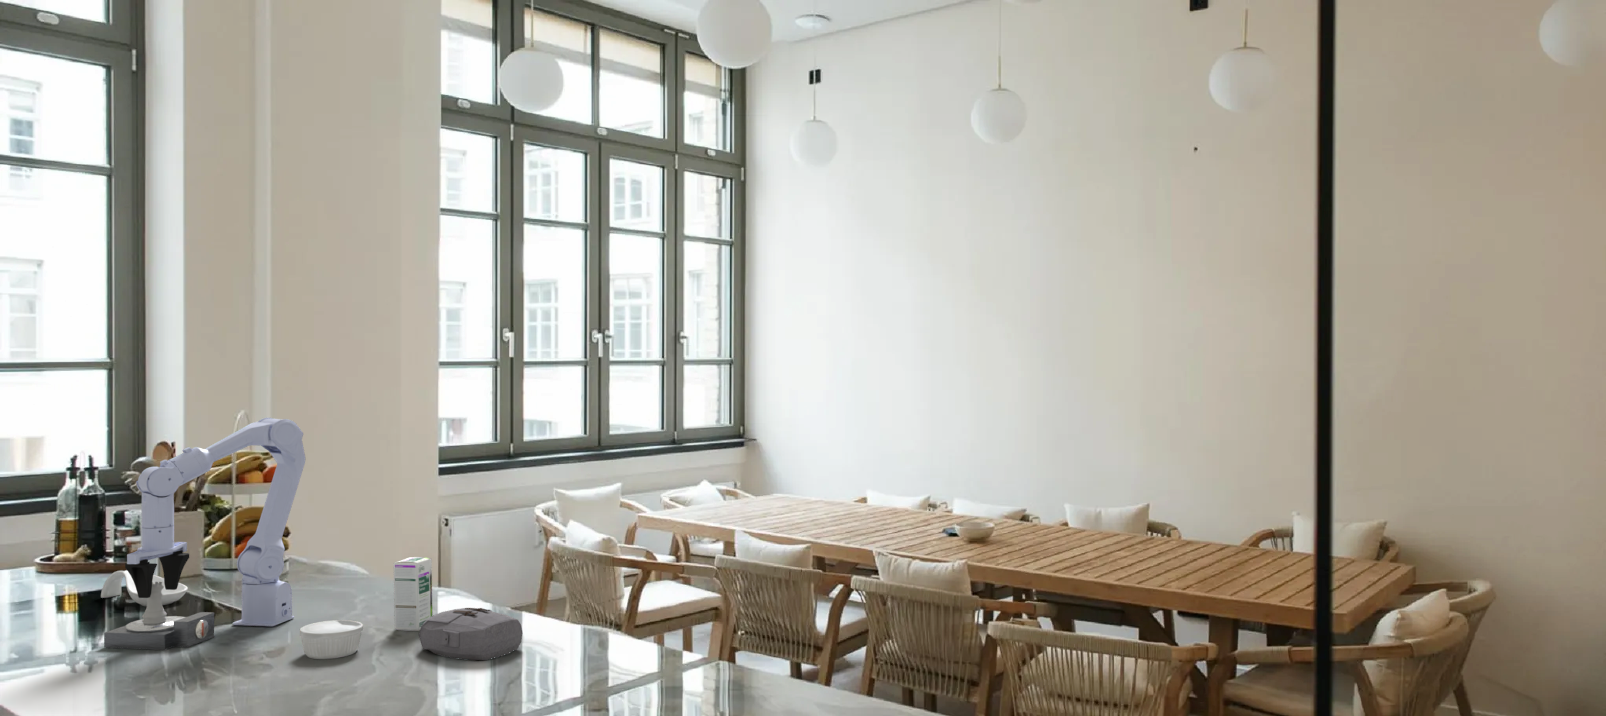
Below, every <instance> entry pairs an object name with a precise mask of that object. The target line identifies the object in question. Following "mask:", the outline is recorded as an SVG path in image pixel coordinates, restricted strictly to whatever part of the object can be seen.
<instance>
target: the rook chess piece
mask: <svg viewBox="0 0 1606 716" xmlns="http://www.w3.org/2000/svg"><path fill="white" fill-rule="evenodd" d="M163 588H164V587H163V586H162V582H159V583H158V582H155V584H153V582H152V591H151V596H150V597H149V598H148V602H147V606H146V609H145V610H144V613H143V614H142V619H144V620H143V621H142V622H143V624H145V625H154V624H161V623H164V622H165V621H166V620H167V618H166V617H165V616H167V614H168V613H167V612H166V611H165V609H164V605H162V600H161V596H162V595H163V594H162V593H161V590H162V589H163Z"/></svg>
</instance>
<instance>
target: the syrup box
mask: <svg viewBox="0 0 1606 716" xmlns="http://www.w3.org/2000/svg"><path fill="white" fill-rule="evenodd" d="M432 562H433V560H432V558H431V557H424V556H413V557H409V556H408V557H407V558H403V559H402V560H399V561H395V562H393V603H394V604H393V609H394V610H393V611H394V612H393V614H394V615H393V616H394V618H393V619H394V624H393V625H394V630H398V631H404V632H405V631H409V632H412V631H413V632H420V629H421V626H422V625H423V623H424V622H425V621H426V620H428V619H429V618H430V617H431V616H433V570H432V568H433V567H432Z"/></svg>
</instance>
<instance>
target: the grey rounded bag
mask: <svg viewBox="0 0 1606 716" xmlns="http://www.w3.org/2000/svg"><path fill="white" fill-rule="evenodd" d="M418 638H419V641H420V645H421V649H422V650H428V651H430V652H431V653H433V654H434V655H438V656H442V657H445V658H449V657H451V658H450V659H456V658H459V659H458V660H464V659H469V660H468V661H470V660H471V661H472V660H473V661H474V660H475V661H476V660H477V661H478V660H480V661H482V660H483V661H485V660H486V661H487V660H488V659H491V658H494V657H497V658H500V657H499V656H501V655H504V654H507V655H509V654H510V653H509V652H512V651H513V650H515V651H516V650H517V649H519V648H520V645H521V643H522V640H523V628H522V624H521V622H520V621H519V619H517V618H514V617H512V616H509V615H507V614H503V613H499V612H496V611H495V612H494V611H492V610H491V609H485V608H483V607H479V608H478V607H477V608H475V607H462V608H455V609H451V610H449V609H448V610H445V611H441V612H438V613H436V614H434V615H433V614H432V616H431V617H430V618H429V619H428V620H426V621H425V622H424V623H423V625H422V626H421V629H420V630H419V633H418ZM508 653H509V654H508ZM512 653H513V652H512ZM504 656H505V655H504ZM501 657H502V656H501ZM494 659H495V658H494ZM491 660H492V659H491ZM488 661H489V660H488Z"/></svg>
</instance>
